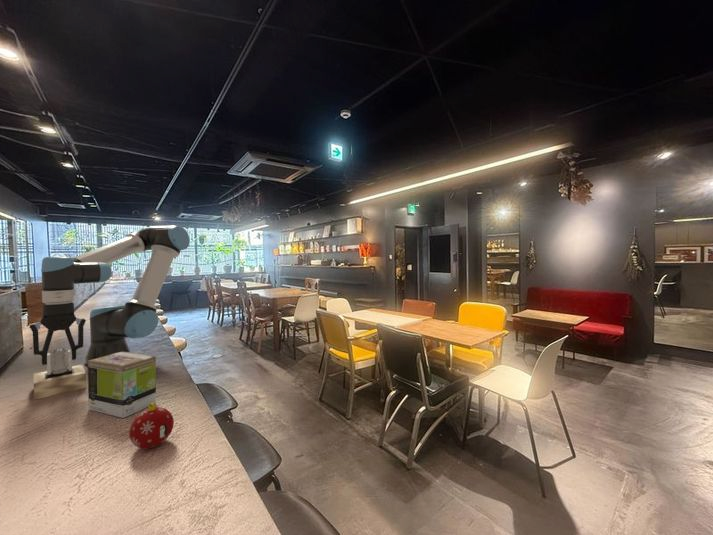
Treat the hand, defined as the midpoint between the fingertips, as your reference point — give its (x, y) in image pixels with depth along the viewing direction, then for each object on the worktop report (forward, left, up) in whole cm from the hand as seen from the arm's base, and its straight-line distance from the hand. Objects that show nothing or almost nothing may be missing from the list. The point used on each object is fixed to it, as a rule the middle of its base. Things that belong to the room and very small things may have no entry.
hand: (59, 371), depth 100 cm
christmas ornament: (-13, +59, -6) cm, 61 cm away
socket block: (0, 0, -6) cm, 6 cm away
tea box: (-12, +31, -6) cm, 34 cm away
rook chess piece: (0, 0, 0) cm, 1 cm away
